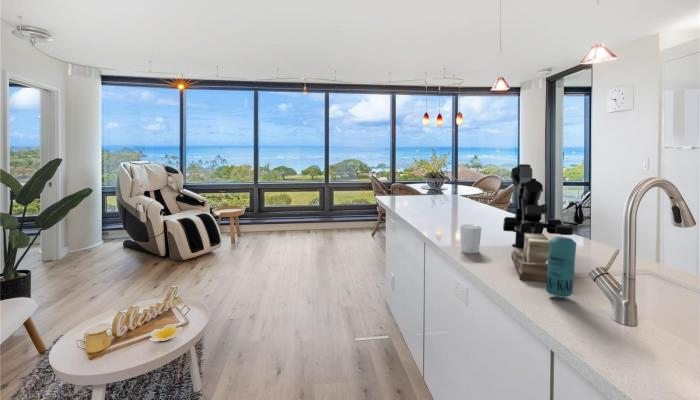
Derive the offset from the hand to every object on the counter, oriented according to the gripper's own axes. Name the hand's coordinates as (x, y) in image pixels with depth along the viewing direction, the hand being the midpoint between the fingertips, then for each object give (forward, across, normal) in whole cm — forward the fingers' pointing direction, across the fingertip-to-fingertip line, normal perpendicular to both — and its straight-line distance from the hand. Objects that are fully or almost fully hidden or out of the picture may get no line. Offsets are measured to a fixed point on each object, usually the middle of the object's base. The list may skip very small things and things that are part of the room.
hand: (533, 245), depth 131 cm
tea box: (+8, 0, -1) cm, 8 cm away
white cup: (-3, -21, +13) cm, 25 cm away
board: (+9, 0, +1) cm, 9 cm away
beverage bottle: (+27, +2, -17) cm, 32 cm away
